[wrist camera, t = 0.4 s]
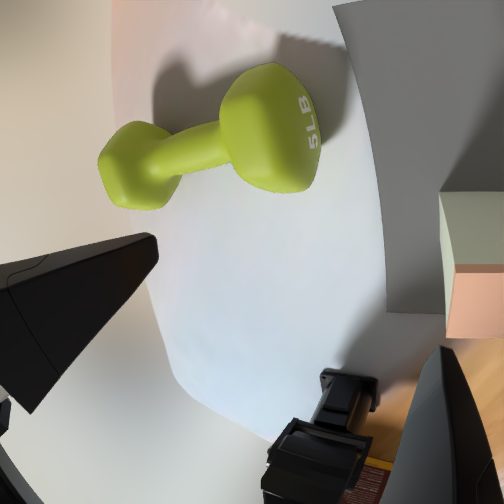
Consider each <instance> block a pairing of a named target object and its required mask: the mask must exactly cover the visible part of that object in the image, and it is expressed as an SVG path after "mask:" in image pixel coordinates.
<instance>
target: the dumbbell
mask: <svg viewBox="0 0 504 504" xmlns="http://www.w3.org/2000/svg"><path fill="white" fill-rule="evenodd" d="M320 152H321V136H320V130H319V125H318V121H317V117H316V113H315V109H314V106H313V103H312V100H311V97H310V95H309V93H308V92H307V90H306V89H305V87H304V86H303V85H302V84H301V83H300V82H299V80H298V79H297V78H296V77H295V76H294V75H293V74H292V73H291V72H290V71H289V70H287V69H286V68H285V67H283V66H281V65H279V64H277V63H267V64H263V65H260V66H257V67H254V68H251V69H249V70H247V71H245V72H244V73H242V74H241V75H240V76H239V77H238V78H237V79H236V80H235V81H234V82H233V84H232V85H231V86H230V88H229V89H228V91H227V93H226V94H225V96H224V98H223V100H222V103H221V106H220V111H219V120H217V121H212V122H208V123H204V124H201V125H197V126H194V127H191V128H188V129H185V130H183V131H181V132H178V133H176V134H174V135H172V134H171V133H169V132H168V131H167V130H165V129H163V128H160V127H158V126H155V125H153V124H150V123H147V122H143V121H133V122H130V123H128V124H126V125H124V126H123V127H121V128H120V129H119V130H118V131H117V132H116V133H115V134H114V135H113V136H112V138H111V139H110V140H109V141H108V143H107V144H106V145H105V147H104V148H103V150H102V151H101V153H100V155H99V158H98V169H99V172H100V175H101V179H102V182H103V184H104V187H105V190H106V192H107V194H108V196H109V198H110V200H111V201H112V202H113V204H115V205H116V206H119V207H122V208H127V209H134V210H156V209H159V208H162V207H163V206H164V205H166V203H167V202H168V201H169V200H170V198H171V197H172V195H173V193H174V192H175V190H176V188H177V186H178V184H179V182H180V180H181V177H182V174H187V173H192V172H197V171H201V170H205V169H209V168H213V167H217V166H221V165H224V164H226V163H229V162H231V163H232V165H233V167H234V169H235V171H236V172H237V174H238V175H239V176H240V177H241V178H242V179H243V180H244V181H246V182H247V183H249V184H251V185H253V186H255V187H257V188H260V189H263V190H266V191H269V192H273V193H295V192H301V191H304V190H306V189H307V188H309V187H310V185H311V184H312V182H313V180H314V177H315V174H316V171H317V167H318V162H319V157H320Z"/></svg>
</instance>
